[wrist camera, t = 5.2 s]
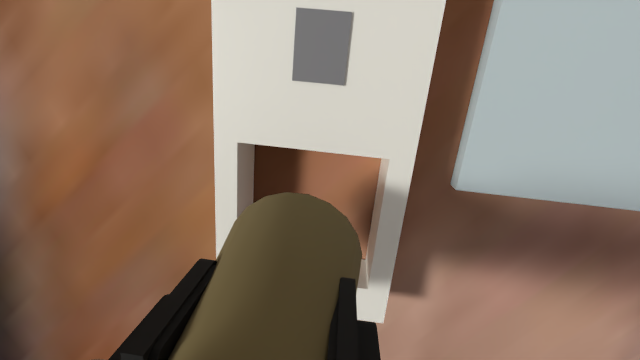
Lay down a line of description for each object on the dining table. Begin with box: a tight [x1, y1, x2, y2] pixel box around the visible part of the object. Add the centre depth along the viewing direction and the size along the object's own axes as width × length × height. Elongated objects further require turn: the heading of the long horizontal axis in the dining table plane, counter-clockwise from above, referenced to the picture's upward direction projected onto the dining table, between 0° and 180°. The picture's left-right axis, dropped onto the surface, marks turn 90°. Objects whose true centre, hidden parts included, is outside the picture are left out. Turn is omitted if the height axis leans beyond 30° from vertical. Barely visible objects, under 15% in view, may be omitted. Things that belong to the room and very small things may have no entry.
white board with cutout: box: [211, 0, 446, 323], centre depth 16 cm, size 24×10×3 cm, turn 175°
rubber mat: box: [450, 0, 640, 211], centre depth 15 cm, size 12×10×1 cm
